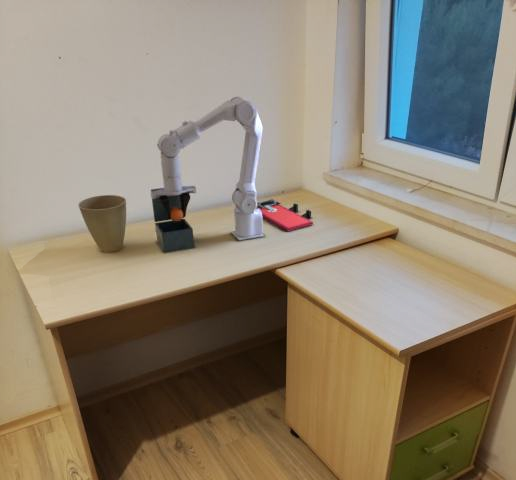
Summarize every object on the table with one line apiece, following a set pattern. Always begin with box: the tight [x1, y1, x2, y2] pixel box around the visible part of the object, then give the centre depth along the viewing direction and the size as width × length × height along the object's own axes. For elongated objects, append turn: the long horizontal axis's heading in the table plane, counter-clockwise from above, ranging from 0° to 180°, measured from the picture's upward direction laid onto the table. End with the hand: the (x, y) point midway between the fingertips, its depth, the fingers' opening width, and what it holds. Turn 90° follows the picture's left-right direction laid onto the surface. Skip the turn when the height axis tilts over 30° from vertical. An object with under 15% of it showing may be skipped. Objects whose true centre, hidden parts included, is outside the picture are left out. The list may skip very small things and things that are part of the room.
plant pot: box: [77, 194, 127, 253], centre depth 167 cm, size 15×15×16 cm
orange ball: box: [170, 207, 184, 222], centre depth 166 cm, size 5×5×5 cm
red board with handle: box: [257, 198, 314, 232], centre depth 194 cm, size 30×3×15 cm
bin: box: [154, 218, 195, 254], centre depth 171 cm, size 10×10×7 cm
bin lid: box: [150, 187, 185, 223], centre depth 169 cm, size 11×10×1 cm
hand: (176, 217), depth 167 cm, fingers closed on orange ball, 4 cm apart
